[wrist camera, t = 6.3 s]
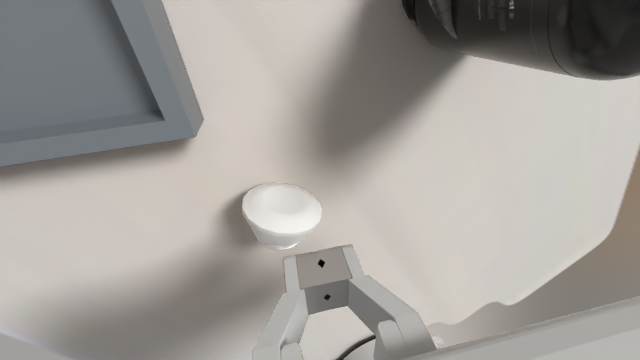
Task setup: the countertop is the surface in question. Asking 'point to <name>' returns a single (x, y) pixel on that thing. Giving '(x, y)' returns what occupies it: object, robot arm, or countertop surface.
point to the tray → (89, 78)
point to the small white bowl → (280, 214)
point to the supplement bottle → (543, 34)
